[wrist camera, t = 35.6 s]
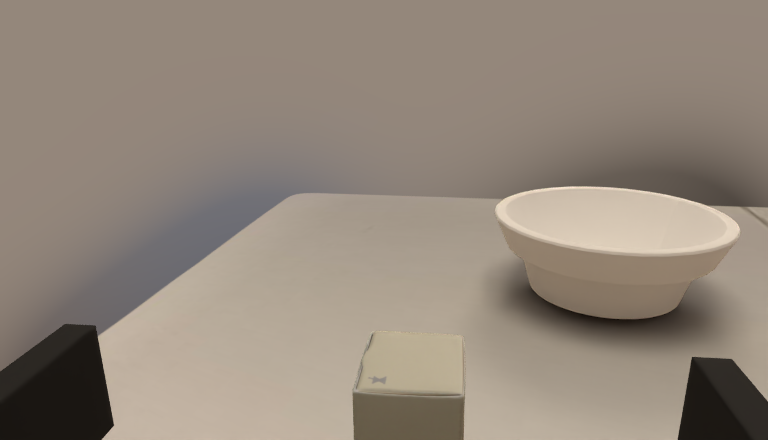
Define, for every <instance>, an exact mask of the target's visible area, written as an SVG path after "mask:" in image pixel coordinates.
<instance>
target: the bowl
mask: <svg viewBox="0 0 768 440" xmlns="http://www.w3.org/2000/svg"><path fill="white" fill-rule="evenodd" d="M495 216H496V218H497V220H498V223H499V225H500V228H501V230H502V232H503V235H504V237H505V240H506V242H507V244H508V246H509V248H510V250H512V251H513V252H514V253H515V254H516V255H517V256H518V257H520V258H522V259H523V261H524V264H525V268H526V272H527V276H528V279H529V283H530V285H531V287H532V289H533V290H534V291H535V292H536V293H537V294H538V295H539V296H540V297H542V298H543V299H545V300H546V301H548V302H550V303H552V304H554V305H557V306H559V307H562V308H564V309H567V310H570V311H573V312H577V313H581V314H585V315H590V316H596V317H602V318H613V319H641V318H651V317H655V316H660V315H663V314H666V313H668V312H670V311H672V310H673V309H675V308H676V307H677V306H678V305H679V303H680V301H681V299H682V297H683V296H684V294H685V292H686V290H687V288H688V287H689V285H690V283H691V281H692V280H695V279H697V278H700V277H703V276H705V275H708V274H709V273H710V272H711V271H713V270H714V269H715V268H716V267H717V266H718V264H719V263H720V262H721V261H722V259H723V258H724V257H725V255H726V254H727V253H728V252H729V250H730V249H731V248H732V247H733V245H734V244H735V243H736V241H737V240H738V238H739V236H740V233H741V232H740V229H739V227H738V225H737V223H736V222H735V221H734V220H733V219H731V218H730V217H729V216H727V215H725V214H724V213H722V212H720V211H718V210H716V209H713V208H711V207H708V206H706V205H703V204H700V203H696V202H693V201H689V200H686V199H682V198H678V197H673V196H669V195H664V194H659V193H653V192H646V191H639V190H631V189H621V188H609V187H557V188H546V189H537V190H532V191H527V192H522V193H519V194H515V195H513V196H509V197H508V198H506V199H504V200H502V201H501V202H500V203H499V204H498V205H497V206H496V209H495Z"/></svg>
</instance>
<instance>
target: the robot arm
mask: <svg viewBox="0 0 768 440" xmlns="http://www.w3.org/2000/svg"><path fill="white" fill-rule="evenodd" d="M113 426H114V423H113V418H112V412H111V407H110V401H109V396H108V391H107V385H106V380H105V374H104V369H103V363H102V358H101V353H100V347H99V342H98V336H97V331H96V326H93V325H73V324H65V325H63V326H62V327H60V328H59V329H58V330H56V331H55V332H54V333H52V334H51V335H49V336H48V337H47V338H45V339H44V340H43V341H41V342H40V343H39V344H37V345H36V346H35V347H33V348H32V349H30V350H29V351H28V352H26V353H25V354H24V355H22V356H21V357H20V358H18V359H17V360H16V361H14V362H13V363H11V364H10V365H9V366H7V367H6V368H5V369H3V370H2V371H0V440H102V438H103V437H104V436H105V435H106V434H107V433H108V432H109V431H110V429H111V428H112V427H113ZM678 440H768V401H767V400H766V399H765V398H764V397H763V395H762V394H761V393H760V392H759V391H758V390H757V388H756V387H755V386H754V385H753V384H752V382H751V381H750V380H749V379H748V378H747V376H746V375H745V374H744V373H743V372H742V371H741V369H740V368H739V367H738V366H737V365H736V363H735V362H734V361H733V360H732V359H720V358H701V357H692V360H691V366H690V372H689V378H688V383H687V389H686V395H685V401H684V406H683V412H682V418H681V424H680V429H679V435H678Z"/></svg>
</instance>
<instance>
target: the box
mask: <svg viewBox="0 0 768 440" xmlns="http://www.w3.org/2000/svg"><path fill="white" fill-rule="evenodd" d="M464 400H465V346H464V337H463V336H459V335H449V334H431V333H410V332H392V331H374V332H372V333H371V334H370V336H369V339H368V342H367V344H366V347H365V350H364V354H363V357H362V360H361V363H360V367H359V370H358V374H357V377H356V381H355V384H354V388H353V422H354V440H463V437H464Z"/></svg>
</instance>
